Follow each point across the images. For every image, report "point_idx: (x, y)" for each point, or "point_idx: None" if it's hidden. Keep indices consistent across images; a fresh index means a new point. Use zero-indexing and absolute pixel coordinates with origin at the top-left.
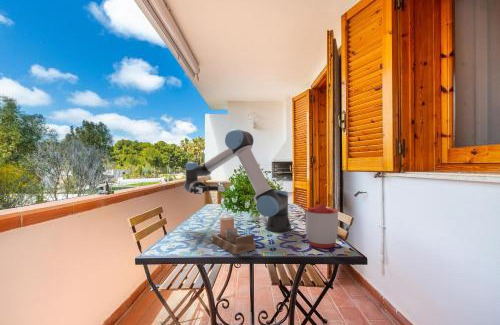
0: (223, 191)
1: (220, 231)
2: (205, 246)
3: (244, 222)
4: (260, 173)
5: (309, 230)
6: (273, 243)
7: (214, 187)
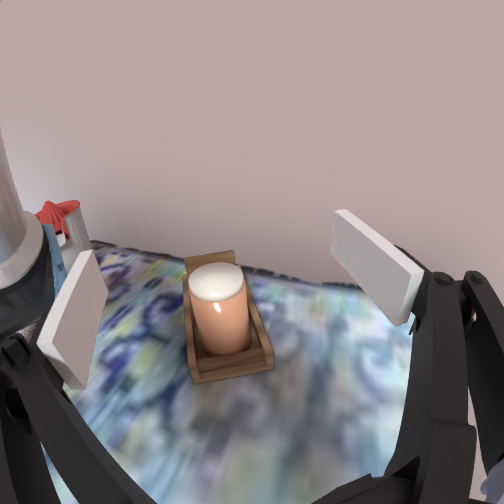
0: (106, 288)
1: (248, 317)
2: (302, 338)
3: None
4: None
5: (85, 244)
6: (124, 306)
7: (74, 421)
